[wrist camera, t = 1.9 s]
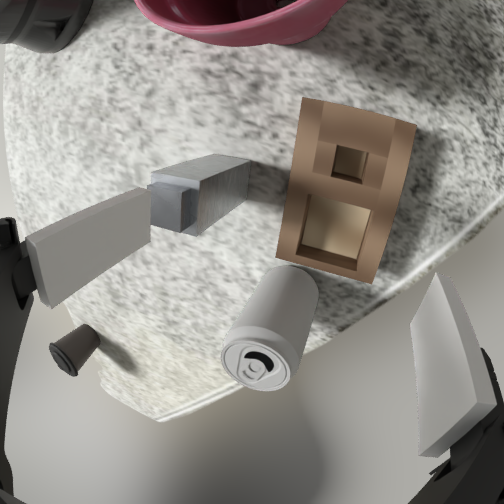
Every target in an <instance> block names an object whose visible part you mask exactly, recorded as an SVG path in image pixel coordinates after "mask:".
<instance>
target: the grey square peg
mask: <svg viewBox="0 0 504 504" xmlns="http://www.w3.org/2000/svg"><path fill="white" fill-rule="evenodd" d="M250 167H251V160H247V159H241V158H235V157H229V156H223V155H217V154H212V155H208V156H204V157H201V158H197V159H193V160H190V161H186V162H183V163H180V164H176V165H173V166H170V167H166V168H163V169H160V170H157V171H154V172H151V184H150V185H147V189H148V190H151V214H150V225H154V226H157V227H161V228H164V229H168V230H172V231H175V232H179V233H181V232H182V233H185V234H189V235H192V236H196V237H197V236H198V235H199V234H201V233H202V232H203V231H205V230H206V229H207V228H209V227H210V226H211V225H213V224H214V223H215V222H217V221H218V220H219V219H221V218H222V217H223V216H225V215H226V214H227V213H229V212H230V211H232V210H233V209H234V208H236V207H237V206H238V205H240V204H241V203H243V202H244V201H245V200H246V199H247V191H248V183H249V175H250Z"/></svg>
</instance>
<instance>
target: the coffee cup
mask: <svg viewBox="0 0 504 504" xmlns="http://www.w3.org/2000/svg"><path fill="white" fill-rule="evenodd" d="M99 344H100V339H99V337H98V335H97V334H96V332H95V331H94V330H93V329H92V328H91V327H90V326H88V325H87V324H83V325H81V326H80V327H78V328H77V329H75V330H73V331H72V332H70V333H69V334H67V335H66V336H64V337H63V338H61V339H60V340H58V341H57V342H55V343H50V346H49V350H50V352H51V355H52V356H53V359H54V360H55V362H56V363H57V364H58V367H59V368H60V369H62V370H63V371H65V372H66V373H68V374H69V375H71V376H77V375H78V371H79V370H80V368H81V367H82V366H83V364H84V363H85V362H86V361H87V359H88V358H89V357H90V356H91V354H92V353H93V352H94V351H95V349H96V348H97V347H98V346H99Z"/></svg>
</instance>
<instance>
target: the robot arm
mask: <svg viewBox="0 0 504 504" xmlns="http://www.w3.org/2000/svg"><path fill="white" fill-rule="evenodd" d="M92 1H93V0H0V44H7V43H13V44H16V45H19V46H22V47H24V48H27V49H29V50H32V51H35V52H37V53H55V52H57V51H59V50H61V49H62V48H63V47H65V46H66V45H67V44H68V43H69V42H70V41H71V39H72V38H73V37H74V36H75V34H76V33H77V31H78V30H79V28H80V27H81V25H82V24H83V22H84V20H85V18H86V16H87V14H88V12H89V9H90V7H91V4H92ZM150 214H151V190H148V189H144V188H140V187H139V188H136V189H133V190H131V191H128V192H125V193H123V194H120V195H118V196H115V197H113V198H110V199H108V200H105V201H103V202H101V203H98V204H96V205H93V206H91V207H89V208H86V209H84V210H82V211H80V212H77V213H75V214H73V215H71V216H68V217H66V218H64V219H62V220H60V221H57V222H55V223H53V224H51V225H49V226H47V227H45V228H43V229H41V230H39V231H37V232H35V233H33V234H31V235H29V236H27V237H25V241H23V242H21V243H20V241H19V236H18V231H17V226H16V220H15V219H14V218H12V217H11V218H10V217H6V218H1V219H0V504H26V503H24V502H22V501H20V500H18V499H17V498H15V497H14V495H13V476H12V470H11V467H10V464H9V462H8V460H7V458H6V455H5V451H4V441H5V429H6V419H7V411H8V404H9V397H10V391H11V385H12V380H13V375H14V370H15V365H16V361H17V357H18V352H19V348H20V345H21V341H22V337H23V333H24V330H25V326H26V323H27V319H28V316H29V313H30V310H31V307H32V304H33V301H34V296H33V293H32V292H33V291H34V290H36V289H37V290H38V293H39V297H40V300H41V302H42V303H44V304H45V305H46V306H47V307H49V308H50V309H53V308H54V307H55V306H57V305H58V304H60V303H61V302H62V301H64V300H65V299H66V298H68V297H69V296H71V295H72V294H73V293H75V292H76V291H78V290H79V289H80V288H82V287H83V286H85V285H86V284H88V283H89V282H90V281H92V280H93V279H95V278H96V277H98V276H99V275H101V274H102V273H104V272H105V271H106V270H108V269H109V268H111V267H112V266H114V265H115V264H117V263H118V262H120V261H121V260H123V259H124V258H126V257H127V256H129V255H131V254H132V253H134V252H135V251H137V250H138V249H140V248H141V247H143V246H144V245H146V244H148V243H149V242H150ZM410 330H411V336H412V344H413V352H414V361H415V371H416V381H417V382H416V383H417V398H418V420H419V421H418V424H419V450H418V455H419V456H425V457H439V456H440V455H442V454H443V453H444V452H445V451H447V450H448V449H449V448H450V455H451V457H450V458H449V459H448V460H446V461H445V462H444V463H442V464H441V465H440V466H438V467H437V468H435V469H434V470H433V471H431V472H430V473H429V474H430V475H432V474H433V473H435V472H436V473H435V474H434V475H433V477H432V478H431V479H430V480H429V481H428V482H427V484H426V485H425V486H424V487H423V488H422V489H421V490H420V491H419V493H418V494H417V495H416V496H415V497H414V498H413V499H412V500H411V501H410V502H409V503H408V504H504V402H503V398H502V395H501V391H500V388H499V384H498V382H497V378H496V374H495V372H494V368H493V365H492V363H491V359H490V358H489V356H488V355H487V353H486V352H485V350H484V349H483V348H480V346H479V343H478V340H477V338H476V335H475V332H474V330H473V327H472V325H471V322H470V320H469V317H468V315H467V312H466V310H465V308H464V305H463V303H462V301H461V298H460V296H459V294H458V292H457V290H456V288H455V285H454V283H453V281H452V279H451V277H448V276H445V275H443V274H440V273H435V276H434V278H433V280H432V282H431V284H430V286H429V288H428V291H427V293H426V294H425V297H424V298H423V301H422V302H421V304H420V306H419V308H418V310H417V312H416V314H415V316H414V318H413V319H412V321H411V323H410Z"/></svg>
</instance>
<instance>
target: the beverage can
mask: <svg viewBox="0 0 504 504" xmlns="http://www.w3.org/2000/svg"><path fill="white" fill-rule="evenodd" d="M318 299H319V291H318V287H317V285H316V283H315V281H314V280H313V278H312V277H311V276H310V275H309V274H308V273H306V272H305V271H303V270H301V269H299V268H296V267H293V266H279V267H276V268H273V269H271V270H269V271H268V272H267V273H266V274H265V275H264V276H263V278H262V279H261V281H260V283H259V284H258V286H257V287H256V289H255V291H254V292H253V294H252V295H251V297H250V298H249V300H248V302H247V303H246V305H245V306H244V308H243V309H242V311H241V313H240V314H239V316H238V317H237V319H236V320H235V322H234V324H233V325H232V327H231V328H230V330H229V331H228V333H227V334H226V336H225V338H224V340H223V350H222V352H221V362H222V365H223V367H224V369H225V371H226V372H227V373H228V374H229V375H230V376H231V377H232V378H233V379H234V380H235V381H237V382H238V383H240V384H242V385H244V386H246V387H248V388H251V389H255V390H259V391H273V390H277V389H280V388H282V387H283V386H285V385H286V384H287V383H288V381H289V379H290V378H291V377H293V376H294V375H295V373H296V372H297V370H298V368H299V364H300V361H301V358H302V355H303V352H304V348H305V345H306V342H307V338H308V335H309V331H310V328H311V325H312V321H313V317H314V314H315V310H316V307H317V303H318Z"/></svg>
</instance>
